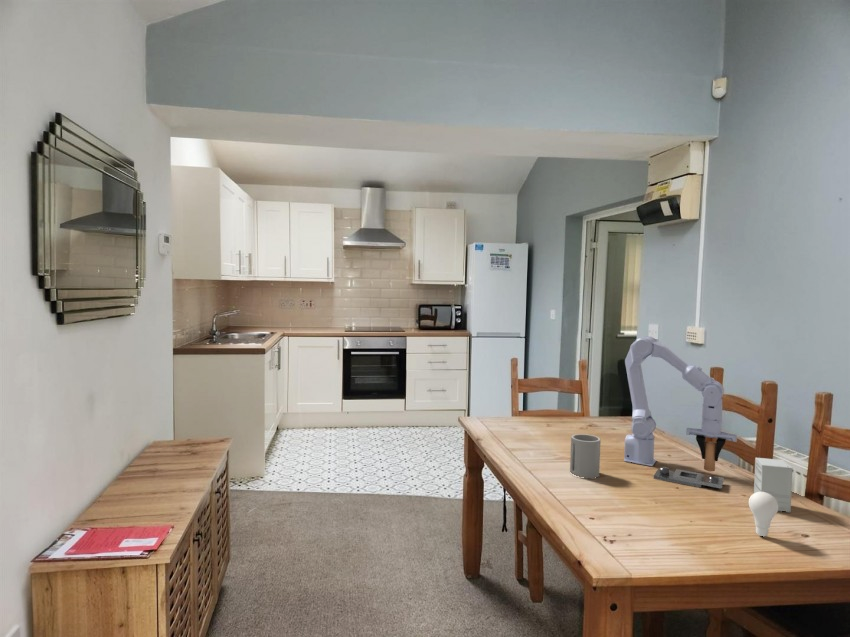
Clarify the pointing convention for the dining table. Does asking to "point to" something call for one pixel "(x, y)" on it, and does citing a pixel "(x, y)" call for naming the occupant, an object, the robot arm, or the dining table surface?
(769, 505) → the lightbulb
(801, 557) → the dining table surface
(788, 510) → the supplement box
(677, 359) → the robot arm
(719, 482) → the grey flat plate
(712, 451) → the pin
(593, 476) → the cup
